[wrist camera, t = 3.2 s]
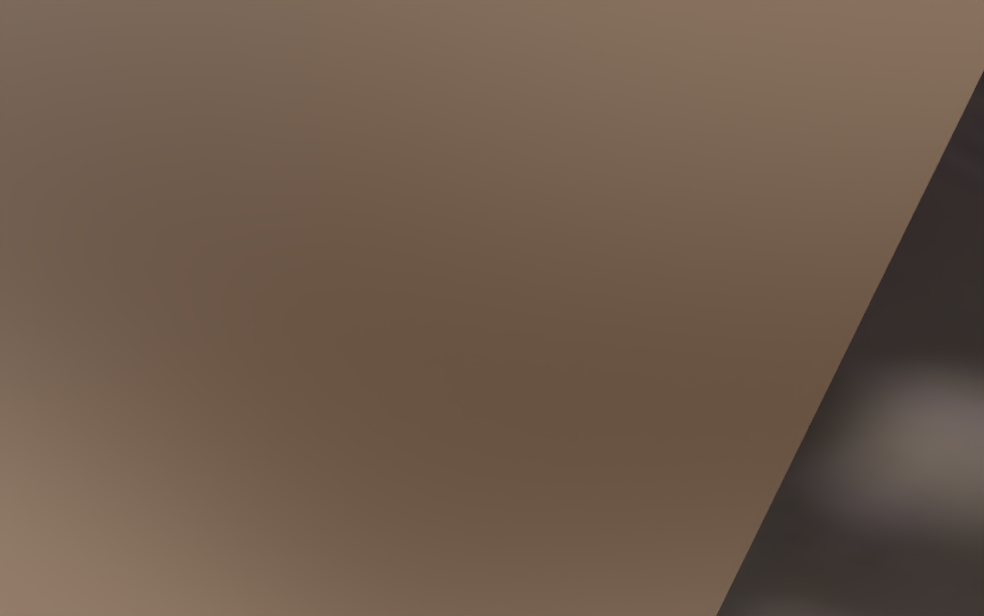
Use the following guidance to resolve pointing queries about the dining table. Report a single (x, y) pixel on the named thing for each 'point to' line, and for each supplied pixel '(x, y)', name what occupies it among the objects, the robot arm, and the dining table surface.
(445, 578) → the wooden block
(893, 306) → the dining table surface
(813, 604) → the dining table surface
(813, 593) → the dining table surface
